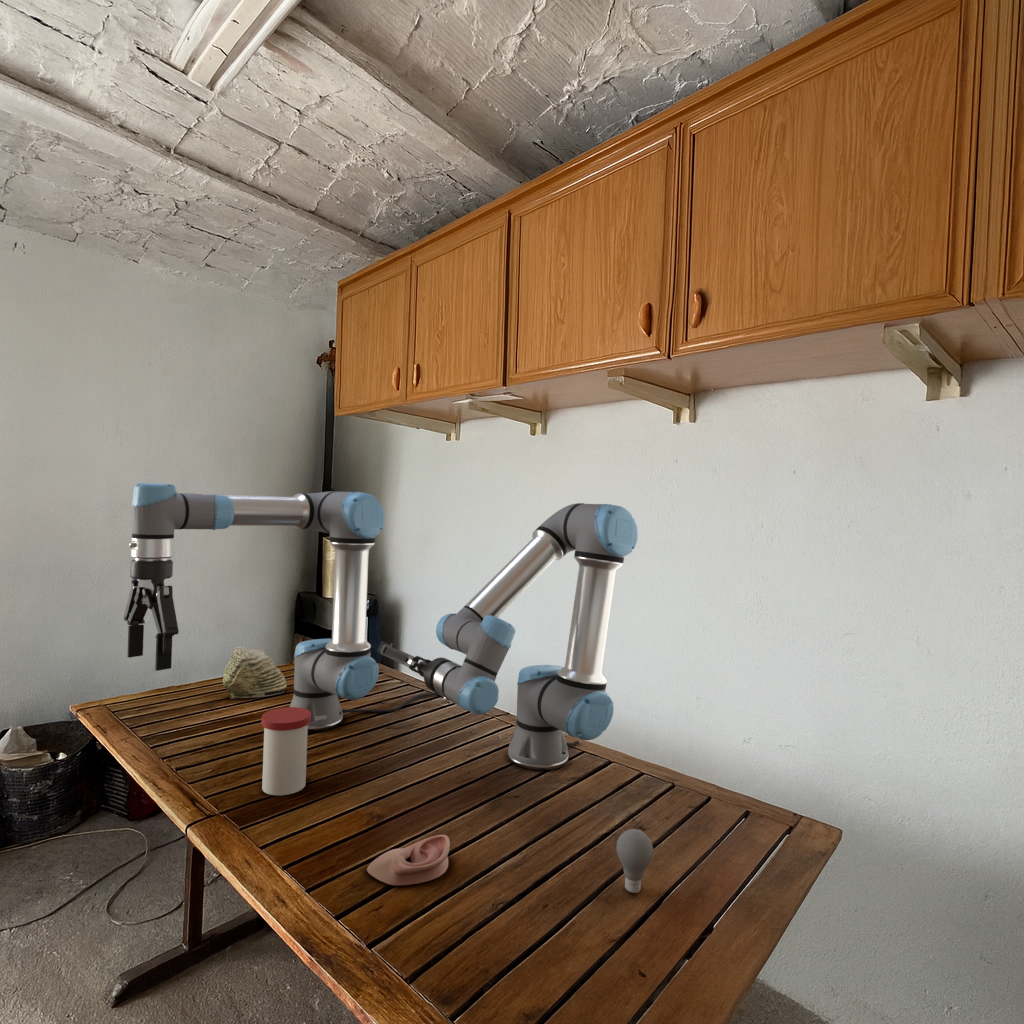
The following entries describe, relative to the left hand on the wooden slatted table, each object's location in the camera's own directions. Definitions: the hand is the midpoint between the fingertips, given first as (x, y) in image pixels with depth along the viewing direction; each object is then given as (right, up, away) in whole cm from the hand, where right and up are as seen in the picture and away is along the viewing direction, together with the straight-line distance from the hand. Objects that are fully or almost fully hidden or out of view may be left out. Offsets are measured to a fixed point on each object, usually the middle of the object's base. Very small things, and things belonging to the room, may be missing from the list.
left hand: (148, 662), depth 129 cm
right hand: (+47, -5, +26) cm, 54 cm away
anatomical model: (+56, -31, -20) cm, 67 cm away
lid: (+25, -14, +8) cm, 30 cm away
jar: (+25, -29, +9) cm, 39 cm away
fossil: (-6, -27, +69) cm, 74 cm away
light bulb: (+94, -33, -24) cm, 103 cm away
